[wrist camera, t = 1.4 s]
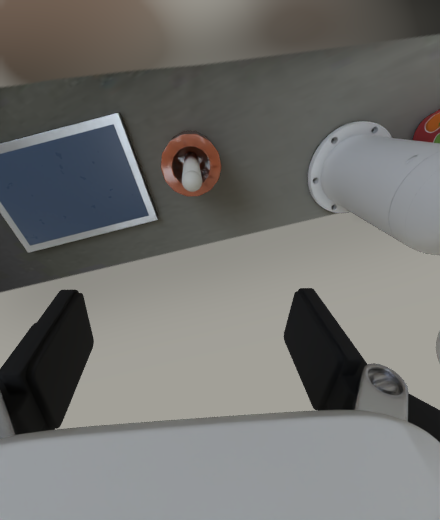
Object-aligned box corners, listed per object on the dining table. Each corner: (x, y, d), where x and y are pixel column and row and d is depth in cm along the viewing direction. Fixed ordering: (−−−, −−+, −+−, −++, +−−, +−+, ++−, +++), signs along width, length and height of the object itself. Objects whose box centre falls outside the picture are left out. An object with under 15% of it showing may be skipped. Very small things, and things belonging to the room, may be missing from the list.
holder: (208, 124, 33) (213, 126, 27) (220, 176, 36) (226, 189, 30) (159, 137, 33) (152, 142, 27) (175, 188, 36) (172, 202, 30)
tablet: (119, 112, 31) (117, 112, 31) (158, 218, 38) (158, 220, 38) (-36, 153, 32) (-42, 154, 31) (31, 250, 39) (27, 253, 38)
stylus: (195, 149, 34) (199, 170, 21) (199, 163, 35) (205, 191, 22) (182, 153, 34) (178, 175, 21) (186, 166, 35) (185, 196, 22)
